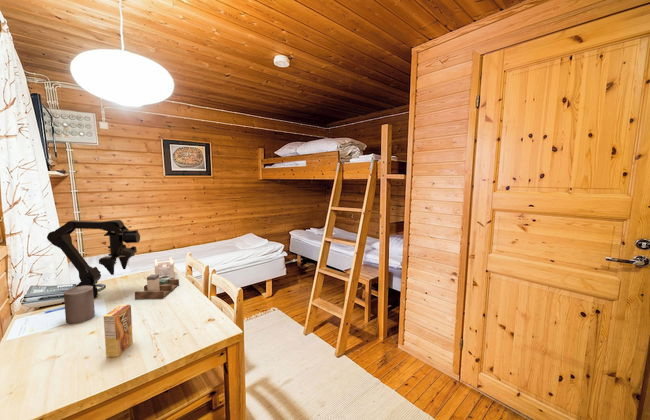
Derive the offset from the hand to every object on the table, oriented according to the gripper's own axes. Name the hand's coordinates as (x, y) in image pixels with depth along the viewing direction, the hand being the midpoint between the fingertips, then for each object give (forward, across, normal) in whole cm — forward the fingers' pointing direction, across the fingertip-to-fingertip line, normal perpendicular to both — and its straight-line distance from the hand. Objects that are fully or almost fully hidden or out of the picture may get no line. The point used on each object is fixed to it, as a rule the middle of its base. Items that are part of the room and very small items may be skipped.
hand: (118, 271), depth 144 cm
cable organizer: (+13, +27, -10) cm, 32 cm away
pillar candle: (+13, -25, 0) cm, 29 cm away
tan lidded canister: (+12, -1, -18) cm, 22 cm away
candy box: (+13, -50, -32) cm, 61 cm away
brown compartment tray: (+13, +3, -18) cm, 23 cm away
